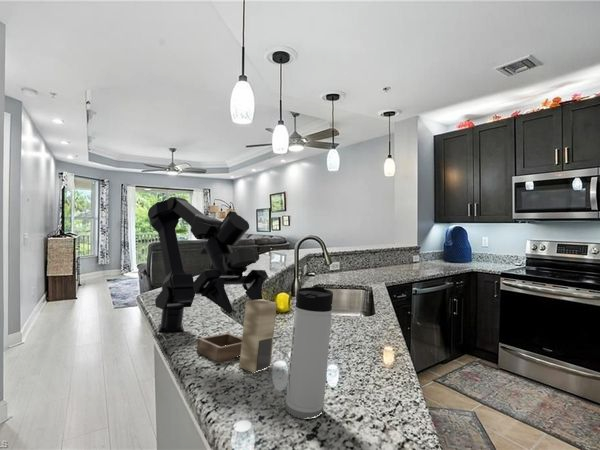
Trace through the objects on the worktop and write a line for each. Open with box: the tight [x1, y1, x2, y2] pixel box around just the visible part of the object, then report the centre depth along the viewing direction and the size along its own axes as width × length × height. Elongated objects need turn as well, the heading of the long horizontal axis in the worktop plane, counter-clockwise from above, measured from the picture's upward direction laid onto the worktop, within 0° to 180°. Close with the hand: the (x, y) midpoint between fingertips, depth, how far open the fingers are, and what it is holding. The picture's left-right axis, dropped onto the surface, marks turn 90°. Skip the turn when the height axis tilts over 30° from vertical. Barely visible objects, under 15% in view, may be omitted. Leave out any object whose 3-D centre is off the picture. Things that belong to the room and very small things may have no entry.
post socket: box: [196, 332, 242, 363], centre depth 76 cm, size 8×9×3 cm
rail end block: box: [238, 298, 278, 374], centre depth 69 cm, size 5×5×14 cm
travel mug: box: [284, 285, 334, 419], centre depth 54 cm, size 6×7×20 cm
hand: (247, 310), depth 72 cm, fingers open, 9 cm apart
